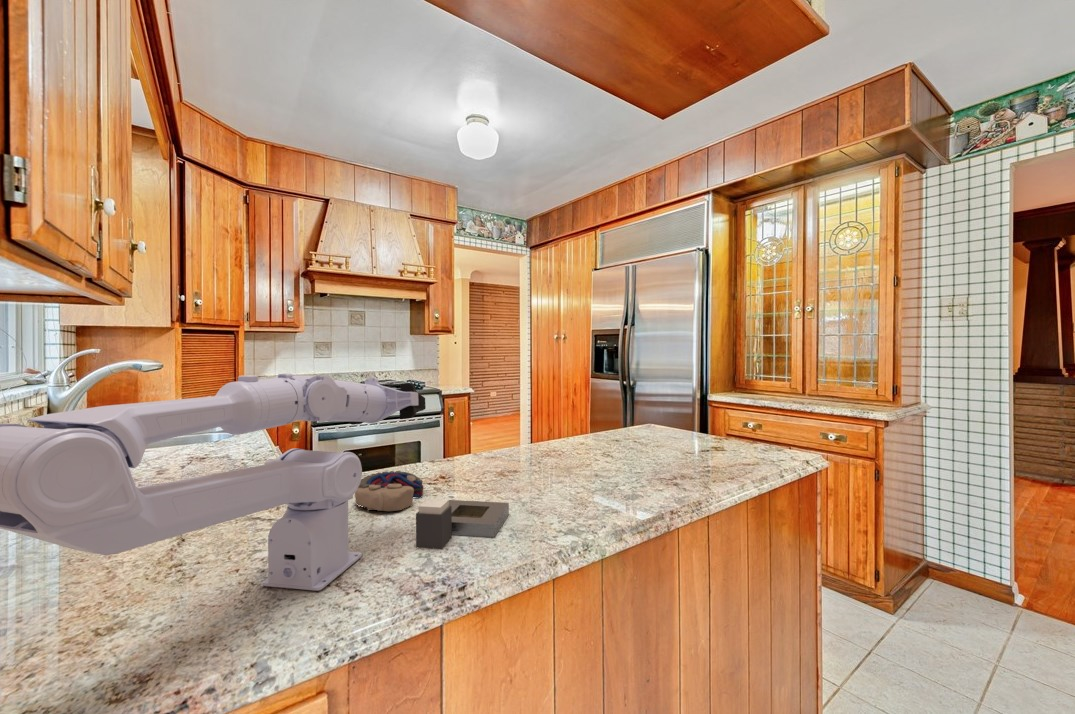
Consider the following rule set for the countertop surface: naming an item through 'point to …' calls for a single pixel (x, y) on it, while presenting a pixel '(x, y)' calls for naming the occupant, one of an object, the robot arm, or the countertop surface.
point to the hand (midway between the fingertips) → (404, 405)
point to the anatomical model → (388, 491)
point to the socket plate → (477, 517)
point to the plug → (433, 524)
